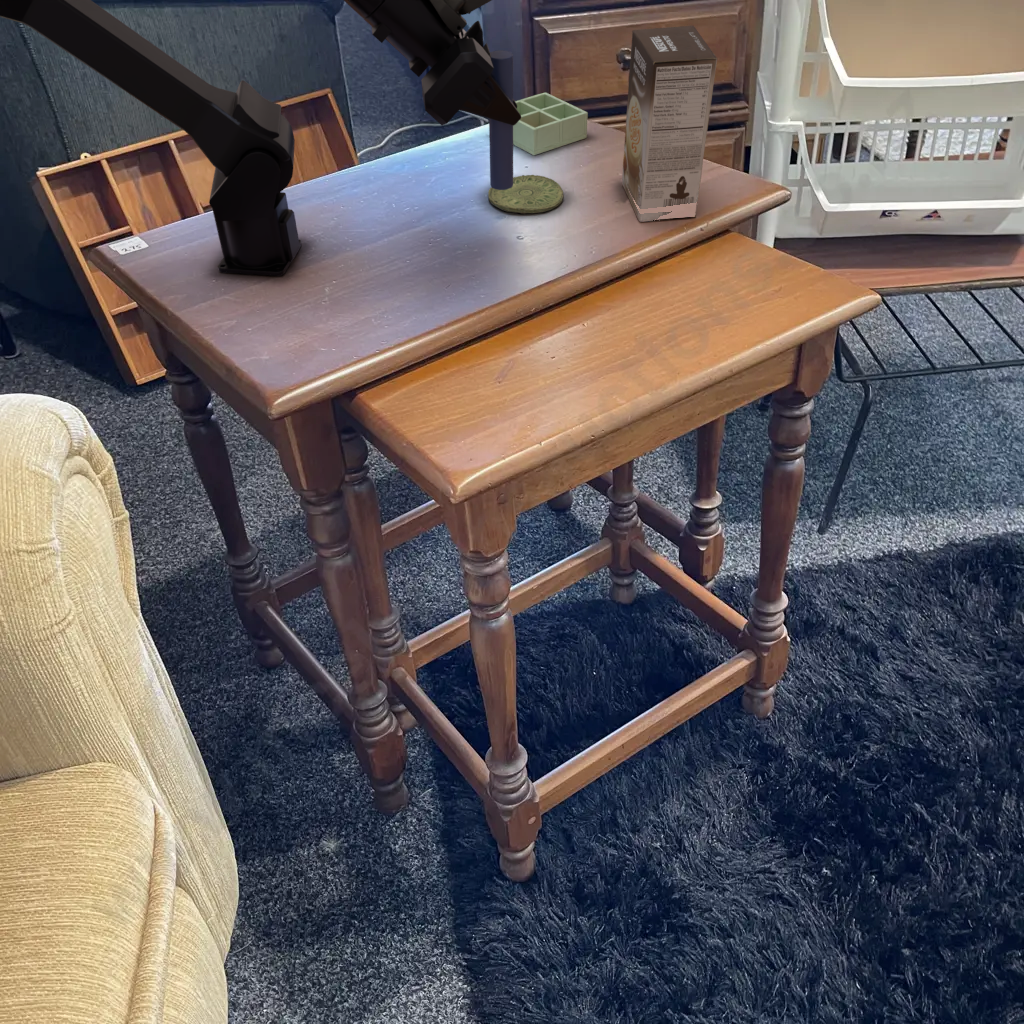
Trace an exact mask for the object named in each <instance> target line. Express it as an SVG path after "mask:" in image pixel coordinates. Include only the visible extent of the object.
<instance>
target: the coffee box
mask: <svg viewBox="0 0 1024 1024" xmlns="http://www.w3.org/2000/svg"><path fill="white" fill-rule="evenodd" d="M631 32H632V33H631V35H632V36H631V47H630V59H629V60H630V61H629V73H628V75H629V77H628V86H627V87H628V88H627V105H626V114H625V115H626V117H625V130H624V144H623V159H622V175H621V184H622V187H623V189H624V192H625V194H626V196H627V198H628V201H629V202H630V204H631V207H632V209H633V211H634V213H635V216H636V218H637V220H638V221H639V223H645V222H656V221H655V219H656V220H657V219H658V218H659V217H660V216H663V215H667V214H669V213H671V212H672V211H671V212H658V213H644V214H640V213H639V211H638V209H637V207H636V205H635V203H634V201H633V199H632V197H633V198H634V200H635V202H636V204H637V205H638V206H639V208H640V209H648V208H657V207H666V206H673V205H680V204H687V203H688V204H690V203H696V202H698V203H699V195H700V188H701V181H702V180H701V179H702V174H703V173H702V171H703V164H704V158H705V157H704V156H705V149H706V144H707V135H708V129H709V122H710V114H711V106H712V99H713V91H714V84H715V76H716V72H717V71H716V70H717V63H718V57H717V56H716V55H715V53H714V51H713V50H712V49H711V48H710V47H709V45H708V44H707V42H706V41H705V39H704V38H703V37H702V35H701V34H700V33H699V31H698V29H697V27H696V26H694V25H684V26H683V25H682V26H671V27H670V26H669V27H653V28H641V29H634V30H632V31H631ZM628 189H629V190H628ZM629 191H630V193H631V195H632V197H631V195H630V193H629ZM653 220H654V221H653Z"/></svg>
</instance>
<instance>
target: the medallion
mask: <svg viewBox="0 0 1024 1024" xmlns="http://www.w3.org/2000/svg"><path fill="white" fill-rule="evenodd" d="M487 193H488V195H487V196H488V201H489V203H490V204H491V205H492V206H494V207H495V208H498V209H499V210H502V211H505V212H507V213H516V214H520V215H523V214H538V213H545V212H548V211H551V210H553V209H555V208H557V207H559V205H561V203H562V202H563V200H564V190H563V188H562V187H561V185H560V184H559V183H558V182H557V181H555V179H552V178H549V177H546V176H543V175H537V174H536V175H535V174H526V175H524V174H523V175H518V176H513V186H512V187H511V188H510V189H506V190H497V189H494V188H492V187H491V186H490V188H489V189H488V192H487Z"/></svg>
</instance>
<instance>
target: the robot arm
mask: <svg viewBox="0 0 1024 1024" xmlns="http://www.w3.org/2000/svg"><path fill="white" fill-rule="evenodd" d="M491 1H493V0H343V2H344V3H346V4H347V5H348V6H349V7H350V8H351V9H352V10H353V11H354V12H355V13H356V14H357V15H358V16H360V17H361V18H362V20H364V21H365V22H366V23H367V24H368V25H369V26H371V35H372V36H373V37H374V38H375V39H376V40H377V41H379V43H381V44H383V43H384V41H385V40H386V41H387V42H388V43H389V44H390V45H391V46H392V47H393V48H395V50H397V51H398V52H399V53H400V54H401V55H402V56H403V57H404V58H405V59H406V60H408V66H409V70H410V71H411V72H413V73H414V74H415V75H416V76H417V77H418V78H420V77H421V76H422V75H423V73H424V72H425V71H426V70H427V68H429V67H430V69H429V70H428V72H427V73H426V74H425V75H424V76H423V77H422V78H421V93H422V100H423V105H424V111H425V112H426V113H427V114H428V115H429V116H430V117H431V118H432V119H433V120H435V121H436V122H437V123H438V124H439V125H440V126H444V125H446V124H448V123H449V122H450V121H451V119H453V118H454V116H455V115H457V113H458V112H459V111H460V112H464V113H468V114H473V115H476V116H479V117H483V118H487V119H488V120H489V119H493V120H496V121H499V122H503V123H506V124H509V125H515V124H516V123H517V122H518V121H519V120H520V119H521V115H520V113H519V112H518V110H517V104H516V102H515V101H516V100H515V99H514V98H513V103H512V102H511V100H510V99H509V97H508V96H507V95H506V93H505V92H504V91H503V89H502V88H501V86H500V85H499V84H498V82H497V81H496V79H495V78H494V77H493V75H492V74H491V73H492V71H493V69H494V67H493V65H492V62H491V54H490V52H491V51H490V48H489V46H488V43H487V42H486V43H485V44H484V31H483V28H482V25H481V22H480V21H479V20H476V21H475V22H474V23H473V24H472V25H471V26H470V27H469V29H467V31H466V30H465V29H464V28H465V27H466V26H467V24H468V23H467V19H465V18H464V15H470V14H471V13H472V12H474V11H476V10H477V9H479V8H481V7H483V6H485V5H486V4H488V3H490V2H491ZM0 18H3V19H6V20H10V21H13V22H17V23H20V24H23V25H25V26H27V27H28V28H30V29H32V30H33V31H35V32H36V33H38V34H39V35H41V36H42V37H44V38H45V39H47V40H49V41H50V42H51V43H53V44H54V45H56V46H57V47H59V48H60V49H61V50H63V51H64V52H66V53H67V54H68V55H71V57H74V58H75V59H76V60H78V61H79V62H81V63H82V64H84V65H85V66H87V67H89V68H90V69H92V71H95V73H97V74H99V75H100V76H102V77H104V78H105V79H106V80H108V81H109V82H111V83H112V84H114V85H115V86H117V87H119V88H120V89H121V90H123V91H124V92H126V93H127V94H129V95H130V96H132V97H133V98H134V99H136V100H138V101H139V102H141V103H142V104H143V105H145V106H146V107H148V108H150V109H151V110H153V111H154V112H155V113H157V114H158V115H160V116H161V117H163V118H165V119H166V120H167V121H169V122H170V123H172V124H174V125H175V126H176V127H178V128H179V129H181V130H183V132H185V133H186V134H187V135H188V136H189V137H190V138H191V140H193V142H194V143H195V144H196V146H197V147H198V148H199V149H200V151H201V152H202V153H203V154H204V156H205V157H206V159H207V160H208V161H209V163H211V165H212V166H213V167H214V173H213V179H212V183H211V184H212V185H211V189H210V196H209V201H208V203H209V205H210V207H211V210H212V213H213V218H214V223H215V226H216V231H217V235H218V240H219V244H220V248H221V252H222V256H223V258H222V259H221V261H220V262H219V263H218V265H217V269H218V272H220V273H227V274H241V275H242V274H243V275H244V274H245V275H254V276H255V275H257V276H258V275H259V276H271V277H280V276H284V274H285V273H286V272H287V270H288V268H289V266H290V265H291V263H292V262H293V261H294V259H295V258H296V256H297V254H298V253H299V251H300V249H301V246H302V240H301V239H300V238H299V232H298V227H297V226H298V225H297V220H296V215H295V211H294V210H293V209H292V208H289V205H288V200H287V193H286V192H284V190H285V189H286V188H287V187H288V185H289V184H290V182H291V180H292V178H293V174H294V166H295V165H294V163H295V143H296V142H295V141H296V140H295V136H294V131H293V127H292V124H291V123H290V122H289V120H288V119H287V118H286V117H285V116H284V115H283V114H282V105H281V104H280V103H276V102H272V101H270V100H268V99H266V98H265V97H263V96H262V95H261V94H260V93H259V92H258V91H257V90H256V89H255V88H254V87H253V86H252V85H251V84H250V83H248V82H247V81H245V80H240V82H239V85H238V87H237V89H236V92H235V91H231V90H227V89H223V88H219V87H216V86H214V85H213V84H210V83H209V82H207V81H206V80H204V79H203V78H201V77H200V76H198V75H197V73H194V71H192V70H190V69H189V68H188V67H186V66H184V65H183V64H181V63H180V62H179V61H178V60H176V59H175V58H173V57H171V56H170V55H169V54H168V53H166V52H165V51H163V50H162V49H160V48H159V47H158V46H156V45H155V44H154V43H152V42H151V41H149V40H148V39H146V38H145V37H144V36H142V35H141V34H139V33H138V32H136V31H135V30H134V29H132V28H131V27H129V26H128V25H126V24H125V23H123V22H122V21H121V20H119V19H118V18H117V17H116V16H114V15H112V14H111V13H110V12H108V11H107V10H106V9H104V8H102V7H101V6H99V5H98V4H97V3H95V2H94V1H93V0H0Z"/></svg>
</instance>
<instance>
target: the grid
mask: <svg viewBox="0 0 1024 1024" xmlns="http://www.w3.org/2000/svg"><path fill="white" fill-rule="evenodd" d="M514 101H515V102H516V104H517V110H518V112H519V113H520V115H521V119H520V120H519V121H518V122H517V123H516V124H515V125H513V146H515V147H516V148H517V147H518V148H519V149H521V150H523V151H525V152H527V153H528V154H530V155H532V156H536V155H540V154H542V153H545V152H549V151H551V150H554V149H557V148H561V147H563V146H567V145H569V144H573V143H576V142H578V141H581V140H584V139H587V138H588V117H589V115H588V114H589V113H588V111H585V110H583V109H581V108H580V107H577V106H575V105H573V104H571V103H568V102H566V101H565V100H562V99H560V98H558V97H556V96H554V95H552V94H549V92H546V91H545V92H543V93H538V94H534V95H532V96H529V97H528V96H527V97H525V98H522V99H518V100H514Z"/></svg>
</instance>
